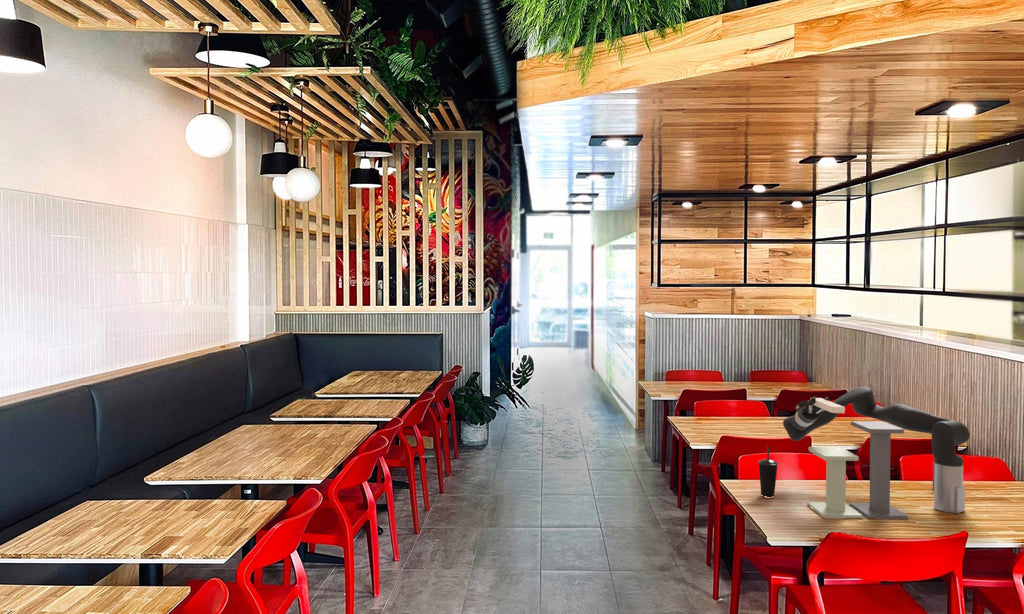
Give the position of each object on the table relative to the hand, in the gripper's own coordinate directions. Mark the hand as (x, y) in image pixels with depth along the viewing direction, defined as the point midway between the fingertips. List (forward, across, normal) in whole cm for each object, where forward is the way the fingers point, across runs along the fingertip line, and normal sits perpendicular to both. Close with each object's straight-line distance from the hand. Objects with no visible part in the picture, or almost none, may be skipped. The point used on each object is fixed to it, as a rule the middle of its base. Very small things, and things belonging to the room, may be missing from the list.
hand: (821, 399), depth 285 cm
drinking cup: (-25, -18, +32) cm, 44 cm away
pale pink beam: (+4, 0, +5) cm, 6 cm away
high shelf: (-10, +16, +40) cm, 44 cm away
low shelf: (-9, 0, +41) cm, 42 cm away
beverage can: (-38, +58, +24) cm, 74 cm away
